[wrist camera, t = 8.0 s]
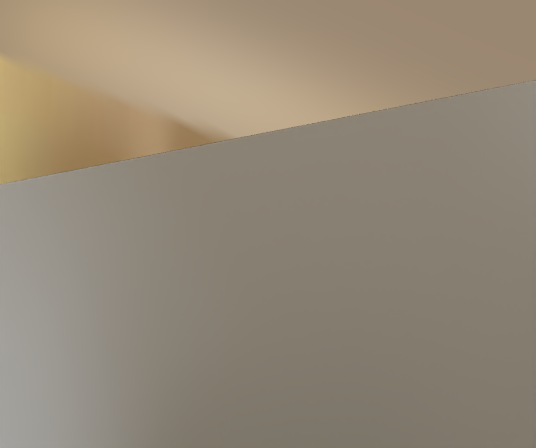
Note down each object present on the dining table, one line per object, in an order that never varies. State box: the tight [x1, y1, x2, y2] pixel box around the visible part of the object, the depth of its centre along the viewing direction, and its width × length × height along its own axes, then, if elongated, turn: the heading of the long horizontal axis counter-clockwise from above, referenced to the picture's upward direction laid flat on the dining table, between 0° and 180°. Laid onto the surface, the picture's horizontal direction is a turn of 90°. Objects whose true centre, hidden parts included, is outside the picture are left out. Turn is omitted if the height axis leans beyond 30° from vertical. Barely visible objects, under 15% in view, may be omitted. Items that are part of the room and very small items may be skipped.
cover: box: [0, 80, 536, 448], centre depth 10 cm, size 7×7×12 cm
